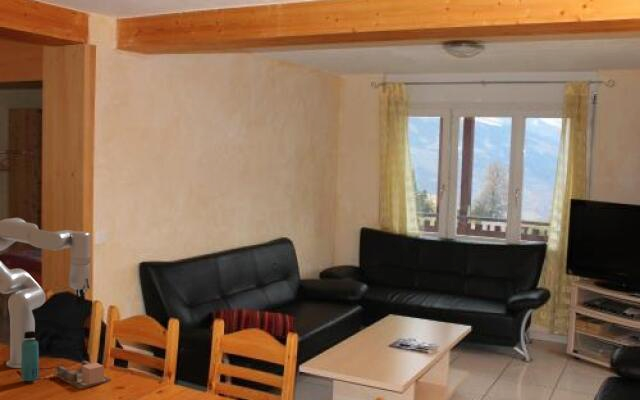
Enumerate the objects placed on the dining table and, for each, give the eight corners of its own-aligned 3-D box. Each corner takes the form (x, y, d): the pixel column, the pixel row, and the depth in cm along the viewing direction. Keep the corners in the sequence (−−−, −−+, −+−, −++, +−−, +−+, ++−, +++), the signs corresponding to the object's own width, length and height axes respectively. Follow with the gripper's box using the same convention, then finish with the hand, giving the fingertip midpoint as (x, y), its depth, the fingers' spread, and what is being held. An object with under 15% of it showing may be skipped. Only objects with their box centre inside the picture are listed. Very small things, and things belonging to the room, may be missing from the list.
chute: (56, 376, 270) (56, 366, 270) (86, 369, 280) (86, 360, 279) (79, 389, 256) (79, 378, 256) (110, 381, 266) (110, 371, 266)
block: (81, 380, 262) (82, 365, 262) (96, 377, 267) (96, 362, 266) (89, 384, 258) (89, 369, 258) (103, 381, 263) (103, 366, 262)
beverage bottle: (32, 385, 259) (32, 334, 258) (17, 383, 260) (17, 333, 259) (42, 380, 265) (42, 330, 264) (27, 378, 266) (27, 329, 265)
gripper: (63, 259, 280) (63, 303, 281) (80, 264, 270) (80, 309, 271) (80, 258, 286) (80, 300, 287) (97, 263, 275) (97, 306, 276)
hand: (80, 304), depth 279 cm, fingers closed
